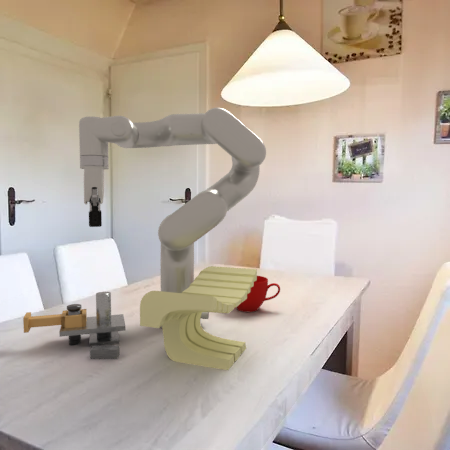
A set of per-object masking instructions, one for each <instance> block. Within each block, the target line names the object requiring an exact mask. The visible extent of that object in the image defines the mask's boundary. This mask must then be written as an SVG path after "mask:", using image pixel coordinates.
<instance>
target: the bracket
mask: <svg viewBox="0 0 450 450" xmlns="http://www.w3.org/2000/svg"><path fill="white" fill-rule="evenodd" d="M87 313H88V312H87V308H83V309H82V308H81V309H80V315H68V310H67V309H66V310H62V312H61V313H60V314H48V315H34V316H33V315H32V312H31V311H29V312H25V314H24V316H23V317H22V318H23V319H22V320H23V323H22V324H23V333H26V334H27V333H29V332H30V330H31V329H33V328H43V327H54V326H55V327H56V326H60V328H61V329H63V328H74V327H85V326H86V321H87V317H88V316H87V315H88V314H87Z"/></svg>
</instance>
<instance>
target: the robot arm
mask: <svg viewBox="0 0 450 450" xmlns="http://www.w3.org/2000/svg"><path fill="white" fill-rule="evenodd" d="M78 123H79V124H78V128H79V129H78V133H79V134H78V137H79V169H81V170H83V203H84V204H85V205H88V203H89V211H88V226H89V227H90V228H98V227H102V226H103V224H102V210H101V205H103V203H104V197H105V196H104V195H105V170H109V164H110V163H109V143H111V144H115V145H117V146H118V147H120V148H124V149H143V148H144V149H149V148H150V149H151V148H159V147H173V146H174V147H175V146H194V145H195V146H197V145H218V146H219V147H220V148H221V149H222V150H224V151H225V152H226V153H227V154H228V155H229V156H230V157H231V163H232V165H231V168H230V170H229V172H228V173H226V174H225V175H224V176H223V177H221V178H220V179H219V180H218V181H216V182H215V183H213V184H212V185H211V186H209V187H208V188H207V189H205V190H203V191H201V192H198V193H197V194H196V195H195V196H194V197H192V198H191V199H190V200H188V201H187V202H185V204H183V205H182V206H180V207H179V208H177V209H176V210H175V211H174V212H172V213H171V214H169V215H167V216H166V217H165V218H163V220H162V221H161V222H160V224H159V227H158V231H157V236H158V240H159V242H160V269H159V270H160V291H163V292H174V293H182V292H183V291H184V290H186V289H187V288H189V286H190V284H191V283H192V282H194V280H195V243H196V242H197V241H198V240H199V239H201V238H202V237H203V236H205V235H206V234H208V233H209V232H211V231H212V230H213V229H214V228H216V227H217V226H218V225H220V224H221V222H222V221H223V220H224V219H225V217H226V216H227V212H229V211H230V210H231V209H233V207H235V206H236V205H238V204H239V203H240V202H241V201H242V200H244V199H245V198H246V197H247V196H248V195H249V194H250V193H251V192H252V191H253V190H254V188H255V187H256V185H257V182H258V180H259V176H260V172H261V171H260V166H261V165H262V164H263V163H264V161H265V159H266V156H267V148H266V146H265V144H264V141H263V140H262V139H261V138H260V137H259V136H258V135H256V134H255V133H254V132H253V131H252V130H250V129H249V128H248V127H247V126H246V125H245V124H244V123H243V122H242V121H240V119H238V118H237V117H236V116H234V115H233V114H232V113H231V111H228V110H227V109H225V108H222V107H213V108H210V109H208V110H207V111H206V112H202V113H176V114H175V113H173V114H169V115H167V116H164V117H163V118H161V119H159V120H153V121H145V122H143V121H142V122H140V121H139V122H132V120H131V119H130V118H128V117H126V116H123V115H113V116H111V115H110V116H104V117H100V116H99V117H98V116H84V117H81V118H80V119H79V122H78ZM209 313H210V312H202V314H201V320H209V317H210V314H209ZM160 328H161V329H162V326H161V327H160Z"/></svg>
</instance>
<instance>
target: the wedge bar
mask: <svg viewBox="0 0 450 450" xmlns="http://www.w3.org/2000/svg"><path fill="white" fill-rule="evenodd" d="M120 346H121V345H120V344H119V345H117V344H116V345H115V344H108V345H98V346H91V348H90V349H89V360H118V358H119V357H120V352H121V351H120V348H121V347H120Z"/></svg>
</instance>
